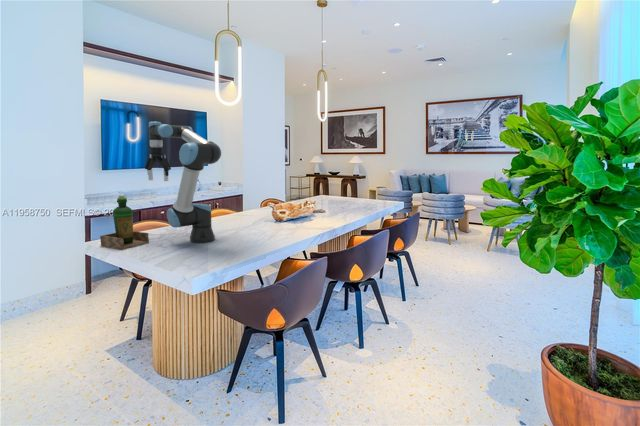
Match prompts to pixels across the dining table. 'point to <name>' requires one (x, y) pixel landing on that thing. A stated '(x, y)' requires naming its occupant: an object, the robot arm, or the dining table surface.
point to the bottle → (123, 220)
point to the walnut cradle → (118, 243)
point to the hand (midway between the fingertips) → (158, 180)
